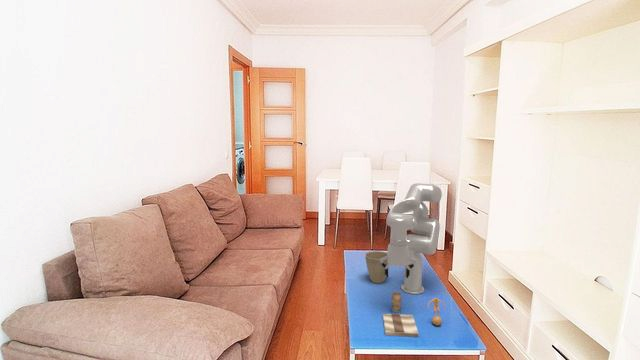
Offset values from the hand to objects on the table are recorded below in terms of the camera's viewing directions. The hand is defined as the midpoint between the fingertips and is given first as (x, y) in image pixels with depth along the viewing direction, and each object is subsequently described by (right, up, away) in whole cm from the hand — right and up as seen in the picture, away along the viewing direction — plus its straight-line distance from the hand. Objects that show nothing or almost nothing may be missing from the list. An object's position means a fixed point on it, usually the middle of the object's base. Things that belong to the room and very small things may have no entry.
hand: (397, 276), depth 175 cm
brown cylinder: (0, -18, +3) cm, 18 cm away
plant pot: (-3, -13, +39) cm, 41 cm away
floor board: (-1, -20, -11) cm, 23 cm away
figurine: (+16, -20, -9) cm, 27 cm away
